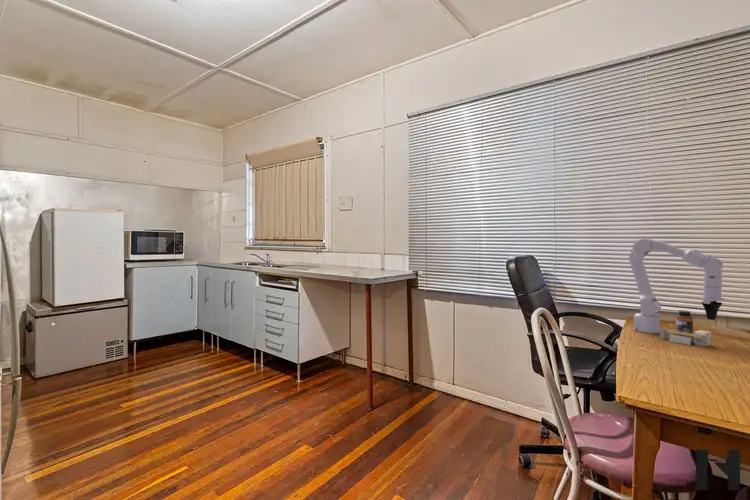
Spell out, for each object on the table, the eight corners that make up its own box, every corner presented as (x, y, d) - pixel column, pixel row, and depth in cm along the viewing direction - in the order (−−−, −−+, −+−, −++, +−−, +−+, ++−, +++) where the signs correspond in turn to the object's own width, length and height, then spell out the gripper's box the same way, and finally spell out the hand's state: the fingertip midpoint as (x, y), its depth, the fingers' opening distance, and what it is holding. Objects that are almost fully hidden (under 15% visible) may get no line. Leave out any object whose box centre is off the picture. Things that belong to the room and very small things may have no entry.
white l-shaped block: (692, 345, 155) (692, 332, 155) (698, 342, 159) (698, 329, 159) (704, 347, 152) (705, 334, 151) (710, 344, 156) (711, 331, 155)
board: (650, 344, 161) (650, 330, 160) (670, 336, 173) (670, 323, 173) (698, 354, 148) (699, 339, 147) (716, 345, 160) (717, 331, 160)
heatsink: (669, 341, 161) (669, 334, 161) (675, 339, 165) (675, 332, 165) (690, 345, 155) (690, 338, 155) (696, 342, 159) (696, 335, 159)
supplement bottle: (686, 334, 178) (687, 309, 177) (695, 337, 172) (696, 312, 171) (672, 333, 178) (673, 309, 178) (681, 337, 172) (682, 312, 172)
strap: (663, 331, 164) (663, 329, 164) (665, 330, 166) (665, 328, 166) (701, 338, 154) (701, 336, 154) (703, 337, 155) (703, 335, 155)
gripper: (719, 289, 153) (718, 323, 154) (730, 286, 162) (728, 318, 162) (697, 287, 159) (696, 320, 160) (708, 284, 168) (707, 315, 168)
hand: (711, 319), depth 161 cm, fingers closed
